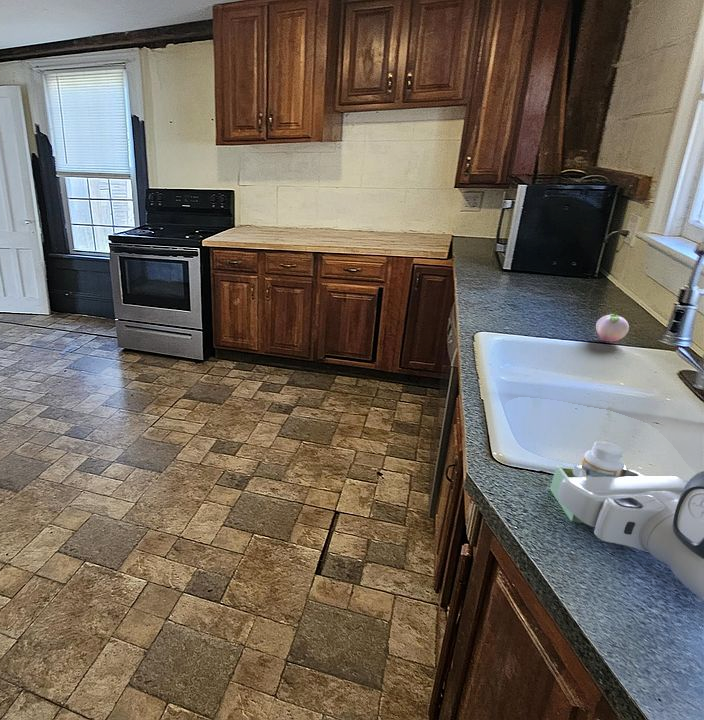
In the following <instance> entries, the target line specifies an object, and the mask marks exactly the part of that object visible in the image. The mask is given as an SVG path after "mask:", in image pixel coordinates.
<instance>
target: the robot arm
mask: <svg viewBox="0 0 704 720" xmlns="http://www.w3.org/2000/svg"><path fill="white" fill-rule="evenodd" d="M573 467H574V468H573V475H575V476H576V477H565V478H563V480H562V482H561V484H560V487H559V491H558V498H559V500H560V501H561V502H562V503H563V504H564V505H565V506H566V507H567V508H568V509H569V510H570V511H571V512H572V513H573V514H574V515H575V516H576V517H577V518H578V519H580V520H581V521H582V522H584V523H583V524H585V525H588V526H590V527H592V528H594V530H593V533H594V535H595V536H596V537H597V538H598V539H599V540H601V541H603V542H607V543H611V544H617V545H621V546H626V547H630V548H633V549H635V550H639V551H642V552H648V553H649V554H650V555H651V556H652V557H653V558H655V559H656V560H657V561H659V562H661V563H663V564H664V565H666V566H667V567H668V568H669V569H670V570H671V572H672V573H673V575H674V576H675V578H676V579H677V580H678V581H680V582H681V583H682V584H683V585H684V586H685V587H686V588H687V589H688V590H689V591H690V592H692V593H693V594H694V596H696V597H697V598H699V599H700V600H701V601H703V602H704V470H703V471H700V472H698V473H696V474H695V475H693V476H692V477H690V478H689V480H686V479H684V478H682V477H678V476H677V475H656V476H655V475H654V476H653V475H651V476H647V475H646V474H644V473H641V472H639V471H636V470H632V469H630V468H629V467H628V466H626V465H625V464H624V469H623V472H622V474H621V477H592V476H588V474H589V471H590V470H589V469H588V468H586V467H585V466H584V465H582V464H575V465H574V466H573Z"/></svg>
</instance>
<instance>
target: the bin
mask: <svg viewBox="0 0 704 720" xmlns="http://www.w3.org/2000/svg"><path fill="white" fill-rule="evenodd" d="M573 468H574V466H573V467H572V466H563V465H556V466H555V470H554V473H553V476H552V480H551V483H550V487H549V491H550V492H551V494H552V495H553V496H554V498H555V500H556V501H557V502H558V504H559V506H560V507H561V509H562V510H563V512H564V513H565V515H566V516H567V517H568V519H569V521H570V522H571V523H578V524H585V523H584V522H582V521H581V520H580V519H578V518H577V517H576V516H575V515H574V514H573V513H572V512H571V511H570V510H569V509H568V508H567V507H566V506H565V505H564V504H563V503H562V502H561V501H560V500H559V498H558V491H559V487H560V484H561V482H562V480H563V478H565V477H576V476H575V475H573Z"/></svg>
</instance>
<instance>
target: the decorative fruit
mask: <svg viewBox="0 0 704 720" xmlns="http://www.w3.org/2000/svg"><path fill="white" fill-rule="evenodd" d="M595 330H596V333H597V335H598V336H599V339H601V340H602V341H603V340H605V341H610V342H609V343H613V342H617V341H620V340H621V339H623V338H625V337H626V336H627V334H628V333H629V330H630V326H629V322H628V321H627V320H626V319H625V318H624V317H622V316H620V315H618V314H617V312H614V313H609V314H607V315H603V316H602V317H600V318H599V319H598V320H597V321H596V323H595ZM605 341H604V342H605Z"/></svg>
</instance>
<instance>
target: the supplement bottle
mask: <svg viewBox="0 0 704 720" xmlns="http://www.w3.org/2000/svg"><path fill="white" fill-rule="evenodd" d="M623 453H624V450H623V449H622V448H621V447H620V446H619V445H617V444H614V443H611V442H608V441H603V440H598V441H595V442H594V443H593V446H592V447H591V449H590V450H589V449H588V450H587V451H586V452H585V453H584V455H583V458H582V462H581V465H584V466H585V467H586V468H588V469H589V470H590V471H589V474H588V476H592V477H621V474H622V472H623V469H624V465H625V462H624V460H623V459H622V456H623Z"/></svg>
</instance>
